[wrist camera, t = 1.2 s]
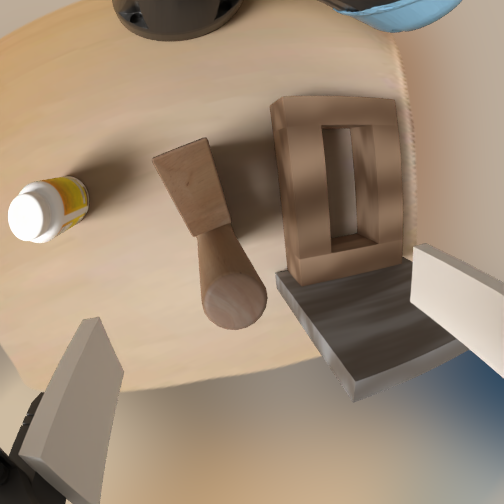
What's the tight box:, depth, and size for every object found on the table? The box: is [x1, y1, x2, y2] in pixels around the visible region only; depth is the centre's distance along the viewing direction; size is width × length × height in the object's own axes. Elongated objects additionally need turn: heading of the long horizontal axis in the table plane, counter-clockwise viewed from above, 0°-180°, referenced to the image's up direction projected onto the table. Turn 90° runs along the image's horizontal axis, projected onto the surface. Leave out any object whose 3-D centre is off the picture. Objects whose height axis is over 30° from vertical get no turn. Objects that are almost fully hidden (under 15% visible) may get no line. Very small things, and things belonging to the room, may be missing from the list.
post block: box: [270, 96, 469, 402], centre depth 25 cm, size 21×16×20 cm
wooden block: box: [152, 138, 268, 330], centre depth 23 cm, size 4×11×18 cm, turn 19°
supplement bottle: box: [8, 176, 89, 243], centre depth 24 cm, size 6×6×10 cm
